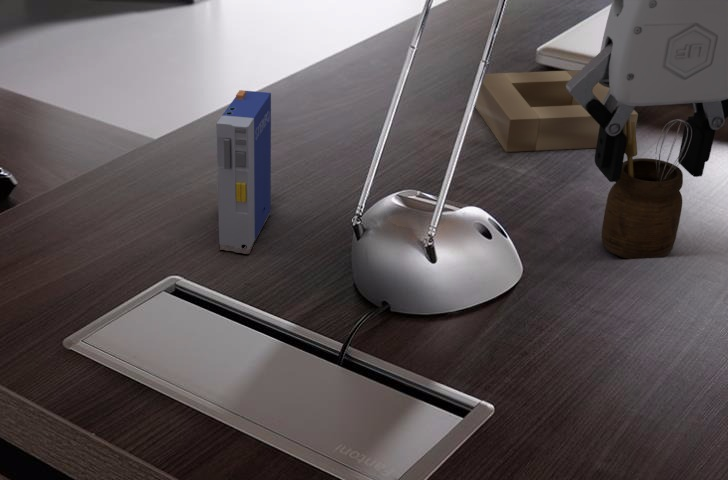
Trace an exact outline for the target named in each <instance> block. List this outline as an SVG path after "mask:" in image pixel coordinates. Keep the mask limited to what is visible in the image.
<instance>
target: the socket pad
mask: <svg viewBox="0 0 728 480" xmlns="http://www.w3.org/2000/svg"><path fill="white" fill-rule="evenodd" d="M580 70H581V69H571V70H549V71H548V70H547V71H523V72H504V73H503V72H498V73H496V72H495V73H493V72H492V73H484V74H485V77H484V80H483V83H482V86H481V89H480V93H479V96H478V99H477V103H476V107H474V108H475V111H477V113H478V114H479V115H480V117H481V118H482V120H483V121H484V123H485V124H486V126H487V127H488V129H489V130H490V131H491V133H492V134H493V136H494V137H495V138H496V141H498V143H499V144H500V146H501V147H502V148H503V150H504V151H505V153H515V152H516V153H517V152H536V151H559V150H581V149H583V150H585V149H596V146H597V140H598V133H599V127H600V125H599V124H598V123H597V122H596V121H595V120H594V119H593V117H592V116H591V115H590V114H589V113H588V112H587V111H586V110H585V109H584V108H583V107H582V106H581V105H580V104H579V103H578V102H577V100H576V99H575V98H574V97H573V96H572V95H571V94H570V93H569V92H568V91H567V90H566V84H567V82H568V81H569V80H570V79H571V78H573V77H574V76H575V75H576V74H577V73H578V72H579V71H580ZM609 90H610V88H608V87H605V86H603V85H601V84H600V83H599V82H598V83H597V84H596V85H595V86H594V87H593V90H592V92H593V94H594V95H595V96H596V98H597V99H598V100H599V101H600V102H601V103H602V102H603V100H604V98H605V97H606V95H607V93H608V91H609ZM638 117H639V113H638V112H637V111H636V110H635V109H634V110H633V112H632V113H631V115H630V117H629V118H628V119H629V121H630V131H631V122H634V123H635V129H636V127H637V123H638ZM625 129H626V124H625ZM631 143H632V137H631Z"/></svg>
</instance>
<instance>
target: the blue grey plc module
mask: <svg viewBox="0 0 728 480" xmlns="http://www.w3.org/2000/svg"><path fill="white" fill-rule="evenodd" d="M215 127H216V130H215V131H216V163H217V164H216V166H217V169H216V170H217V202H218V205H217V206H218V207H217V208H218V234H219V235H218V242H219V243H218V244H221V245H229V246H234V247H235V248H240V249H243V248H244V247H245V246H246V250H249V249H250V247H251V246H252V244H253V242H254V240H255V238H256V237H257V235H258V233H259V231H260V230H261V228H262V226H263V224H264V222H265V220H266V218H267V216H268V214H269V213H270V211H272V209H271V205H272V204H271V203H272V201H271V199H272V193H271V192H272V191H271V190H272V189H271V188H272V185H271V184H272V181H271V180H272V174H271V173H272V152H271V151H272V92H267V91H266V92H264V91H254V90H242V89H241V90H238V92H237V93H236V94H235V97H234V99H233V100H232V101H231V102H230V103H229V105H228V106H227V108H226V109H225V111H224V112H223V113H222V115H221V116H220V117H219V119H218V120H217V122H216V124H215Z"/></svg>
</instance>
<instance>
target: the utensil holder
mask: <svg viewBox="0 0 728 480" xmlns="http://www.w3.org/2000/svg"><path fill="white" fill-rule="evenodd" d="M673 122H674V123H673ZM678 122H679V125H678V127H677V130H676V132H675V136H674V139H673V141H672V144H671V148H670V150H669V153H668V156H667V158H666V161H665V160H662V159H661V153H662V148H663V145H664V143H665V139H666V137H667V134H668V132H669V130H670V129H671V127H672V126H673V125H674V124H676V123H678ZM682 123H683V124H684V125H685V124H686V123H687V122H686V120H683V119H680V118H679V119H673V120H670V121H668V123H666V124H665V125H664V126H663V129H662V130H661V134H660V136H659V138H658V141H657V144H656V148H655V153H657V151H658V145H659V142H660V139H661V137H662V134H663V131H664V129H665V127H666V126H667V125H668V126H667V128H666V130H665V133H664V136H663V138H662V141H661V145H660V150H659V154H658V159H657V158H647V157H643V158H642V157H641V158H634V157H636V156H638V146H637V135H636V133H637V131H636V128H635V123H634V122H631V131H630V121H629V119H628V120H627V122H626V129H625V125H624V127H623V129H622V132H623V133H624V134H625V135H626V137H627V142H626V148H625V154H624V155H626V159H627V160H625V161H623V165H622V171H621V176H620V180H618V181H617V182H614V184H613V185H612V186H611V187H610V190H608V191H609V192H608V194H607V198H606V203H605V209H604V214H603V219H602V227H601V242H602V245H603V246H604V248H605V249H606V250H607V251H608V252H610V253H611V254H613V255H615V256H618V257H619V258H623V259H627V260H645V259H663V258H664V257H666V256H668V255H669V254H670V253H671V252H672V250H673V248H674V245H675V242H676V239H677V235H678V231H679V230H678V229H679V225H680V220H681V215H682V210H683V195H682V193H681V190H682V187H683V185H684V174H683V171H682V170H681V169H680V167H679V165H681V164H680V163H679V162H678V161H679V159H680V158H679V159H678V157H679V155H680V154H681V155H682V153H681V152H683V151H682V150H681V152H680V151H679V152H680V154H679V153H678V156H677V158H676V159H675V161H674V162H673V163H671V162H669V160H670V157H671V155H672V153H673V152H672V151H673V148H674V146H675V143H676V140H677V138H678V134H679V131H680V129H681V125H682ZM687 125H689V124H688V123H687ZM687 125H686V127H687ZM689 126H690V125H689ZM689 126H688V128H687V136H686V139H685V141H687V137H688V130H689ZM690 128H691V126H690ZM691 131H692V129H691ZM631 137H632V143H631ZM691 138H692V135H691ZM690 141H691V139H690ZM684 144H686V142H684ZM689 144H690V142H689ZM683 147H685V145H683ZM688 147H689V146H688ZM682 149H683V150H684V148H682ZM687 150H688V148H687ZM686 152H687V151H686ZM685 155H686V153H685ZM685 155H684V156H685ZM680 157H681V156H680ZM683 158H684V157H683ZM682 160H683V159H682ZM682 160H681V161H682ZM681 161H680V162H681Z"/></svg>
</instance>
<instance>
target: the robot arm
mask: <svg viewBox="0 0 728 480" xmlns="http://www.w3.org/2000/svg"><path fill="white" fill-rule="evenodd" d="M579 70H580V71H579V72H578V73H577V74H576V75H575V76H574V77H573V78H571V79H570V80H569V81H568V82H567V84H566V90H567V91H568V92H569V93H570V94H571V95H572V96H573V97H574V98H575V99H576V100H577V102H578V103H579V104H580V105H581V106H582V107H583V108H584V109H585V110H586V111H587V112H588V113H589V114H590V115H591V116H592V117H593V119H594V120H595V121H596V122H597V123H598V124H599V125H600V127H599V133H598V140H597V146H596V148H595V152H594V153H595V154H594V164H595V166H596V167H597V169H598V170H599V172H601V173H602V175H603V176H604V177H605V178H606V179H607V181H608V182H609V183H616V182H617V181H618V180H620V176H621V171H622V165H623V162H624V159H625V155H626V154H625V148H626V142H627V137H626V135H625V134H624V133H623V132H622V129H623V127H624V125H625V124H626V122H627V120H628V118H629V117H630V115H631V113H632V112H633V110H635V108H636V107H648V106H650V107H651V106H668V105H683V104H685V105H686V104H692V107H693V111H694V113H693V115H692V116H688V117H687V119H686V120H685V121H686V122H687V123H688V124H689V125H690V126H691V128H690V126H689V125H687V123H686V122H685V123H686V124H685V123H684V129H683V133H682V138H681V143H680V148H679V152H678V156H679V157H678V156H677V158H678V159H679V158H680V159H679V161H678V159H677V161H678V162H677V163H678V164H679V163H680V164H679V165H680V166H681V167H682V168H683V169H684V170H685V171H687V173H688V174H689V175H691V176H692V177H694V178H699V177H702V176H703V174H704V170H705V165H706V163H707V162H708V161H709V160H710V158H711V157H710V156H711V152H712V148H713V144H714V139H715V135H716V131H717V130H719V129H721V128H723V126H724V125H725V122H726V119H727V118H728V0H612V2H611V5H610V8H609V12H608V16H607V20H606V23H605V28H604V32H603V36H602V41H601V45H600V51H599V52H598V53H597V55H595V56H594V57H593V58H592V59H591V60H590V61H589V62H587V64H586V65H585V66H583V67H582V68H581V69H579ZM598 82H599V83H600V84H601V85H603V86H605V87H608V88H610V90H609V91H608V93H607V95H606V97H605V98H604V100H603V102H602V103H601V102H600V101H599V100H598V99H597V98H596V96H595V95H594V94H593V92H592V90H593V87H594V86H595V85H596V84H597V83H598ZM686 125H687V127H686ZM688 126H689V130H688V137H687V141H685V139H686V136H687V128H688ZM691 129H692V131H691ZM691 135H692V138H691ZM690 139H691V141H690ZM684 142H686V144H684ZM689 142H690V144H689ZM683 145H685V147H683ZM688 146H689V147H688ZM682 148H684V150H683V149H682ZM687 148H688V150H687ZM681 150H682V151H683V152H681ZM686 151H687V152H686ZM680 152H681V153H682V155H681V154H680ZM685 153H686V155H685ZM679 154H680V155H679ZM684 155H685V156H684ZM680 156H681V157H680ZM683 157H684V158H683ZM682 159H683V160H682ZM681 160H682V161H681ZM680 161H681V162H680Z"/></svg>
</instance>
